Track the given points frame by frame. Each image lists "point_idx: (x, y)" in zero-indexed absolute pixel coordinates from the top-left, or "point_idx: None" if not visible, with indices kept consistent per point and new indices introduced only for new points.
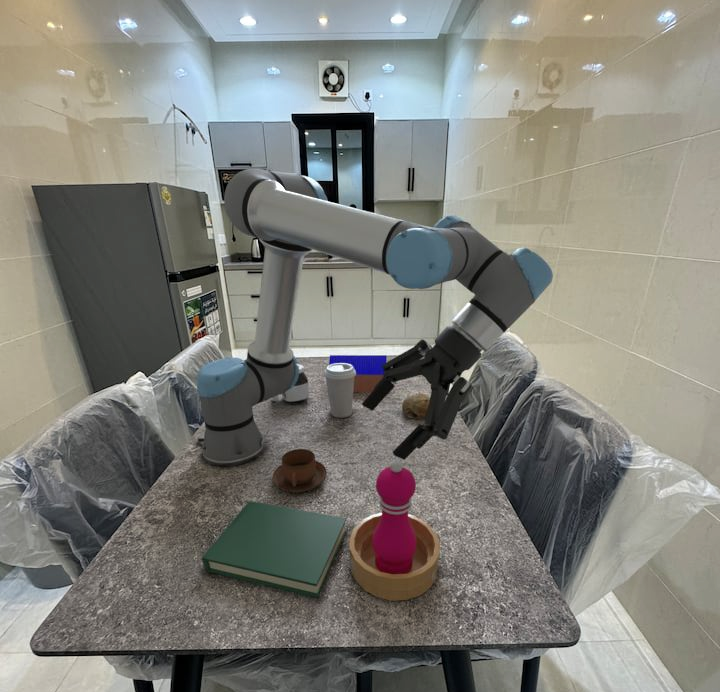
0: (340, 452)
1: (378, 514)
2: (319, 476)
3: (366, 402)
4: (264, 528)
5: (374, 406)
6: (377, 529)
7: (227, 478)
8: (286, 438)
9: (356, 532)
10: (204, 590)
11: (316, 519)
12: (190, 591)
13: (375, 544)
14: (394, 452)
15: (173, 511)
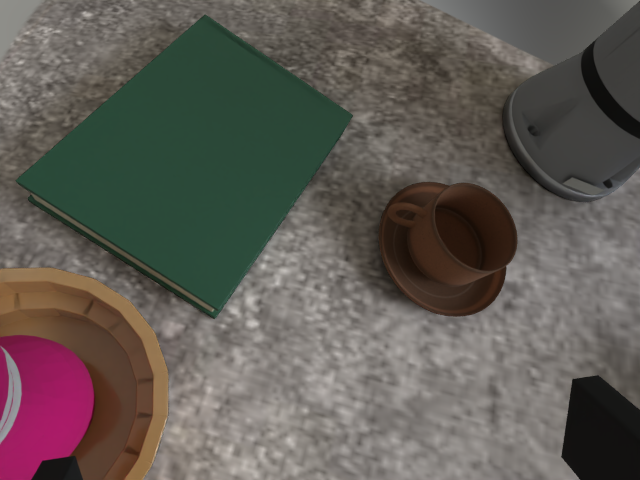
0: (547, 388)
1: (160, 396)
2: (438, 298)
3: (595, 403)
4: (249, 123)
5: (586, 473)
6: (14, 344)
7: (462, 113)
8: (609, 257)
9: (109, 304)
10: (155, 34)
11: (241, 234)
12: (163, 17)
13: (5, 336)
14: (54, 467)
15: (377, 23)
